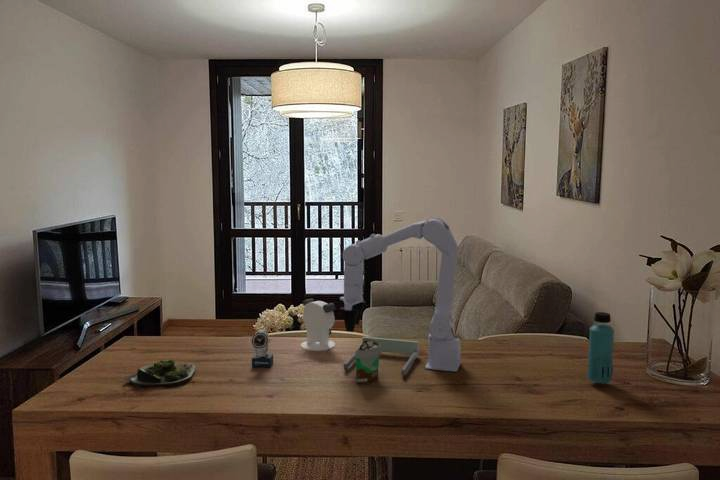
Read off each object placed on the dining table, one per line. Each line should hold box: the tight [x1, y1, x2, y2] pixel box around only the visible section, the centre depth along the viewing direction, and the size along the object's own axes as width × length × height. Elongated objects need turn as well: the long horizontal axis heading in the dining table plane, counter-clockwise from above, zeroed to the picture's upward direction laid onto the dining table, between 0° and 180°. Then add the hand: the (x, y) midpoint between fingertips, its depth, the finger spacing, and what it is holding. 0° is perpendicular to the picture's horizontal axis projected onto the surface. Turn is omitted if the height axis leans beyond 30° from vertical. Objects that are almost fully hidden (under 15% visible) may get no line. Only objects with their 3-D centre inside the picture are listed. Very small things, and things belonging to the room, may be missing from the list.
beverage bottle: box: [586, 311, 615, 384], centre depth 163 cm, size 6×7×20 cm
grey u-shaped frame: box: [343, 336, 420, 378], centre depth 180 cm, size 18×19×5 cm
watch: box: [251, 329, 274, 369], centre depth 179 cm, size 6×8×11 cm
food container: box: [354, 338, 383, 385], centre depth 168 cm, size 12×6×10 cm, turn 168°
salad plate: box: [124, 358, 196, 388], centre depth 172 cm, size 19×18×5 cm
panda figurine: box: [300, 298, 336, 352], centre depth 198 cm, size 12×11×15 cm
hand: (352, 327), depth 183 cm, fingers open, 7 cm apart
